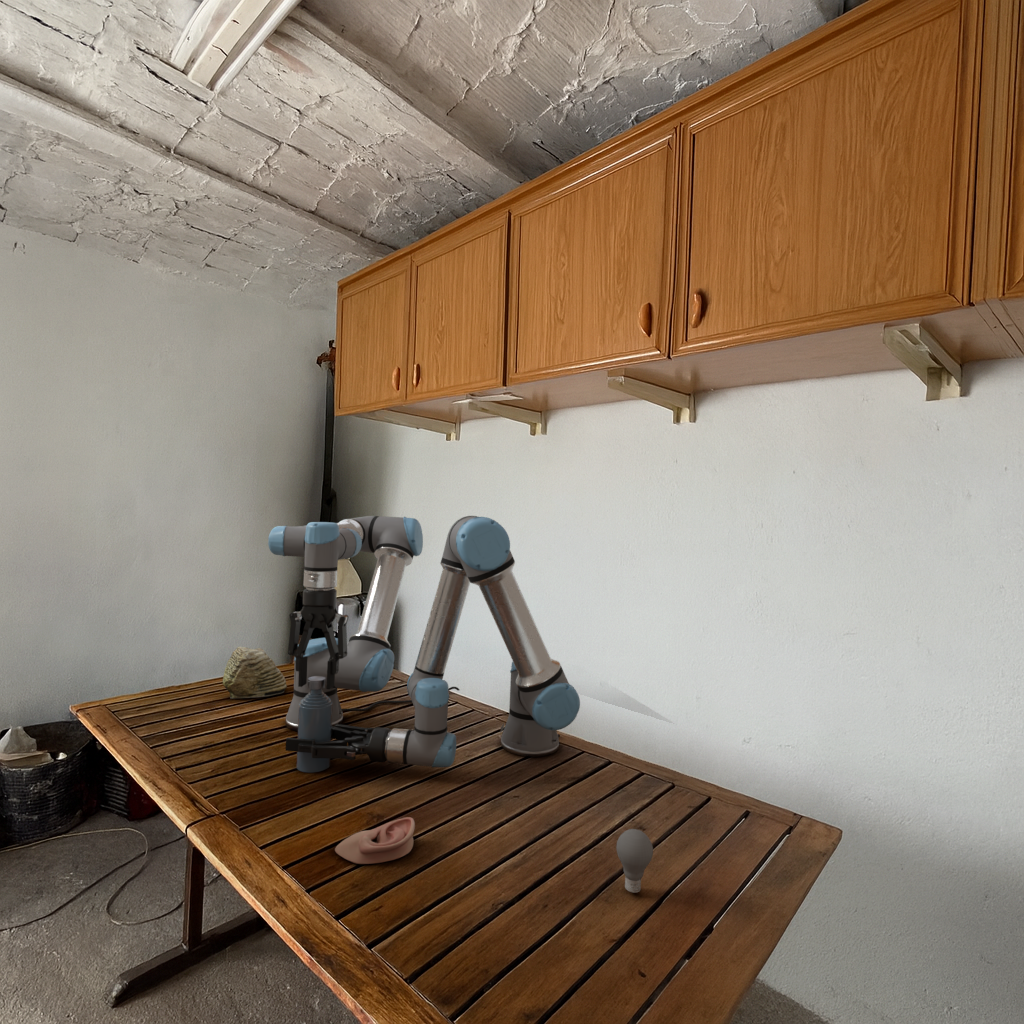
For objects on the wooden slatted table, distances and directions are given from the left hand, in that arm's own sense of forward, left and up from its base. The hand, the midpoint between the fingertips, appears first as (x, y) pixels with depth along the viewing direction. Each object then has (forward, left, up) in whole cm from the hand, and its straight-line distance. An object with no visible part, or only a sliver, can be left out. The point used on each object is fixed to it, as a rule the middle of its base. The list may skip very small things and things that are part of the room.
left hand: (316, 686), depth 148 cm
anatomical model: (+13, +38, -19) cm, 44 cm away
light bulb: (-8, +79, -19) cm, 82 cm away
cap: (0, 0, +1) cm, 1 cm away
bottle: (0, 0, -19) cm, 19 cm away
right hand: (+3, -4, -13) cm, 13 cm away
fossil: (-17, -57, -19) cm, 63 cm away
